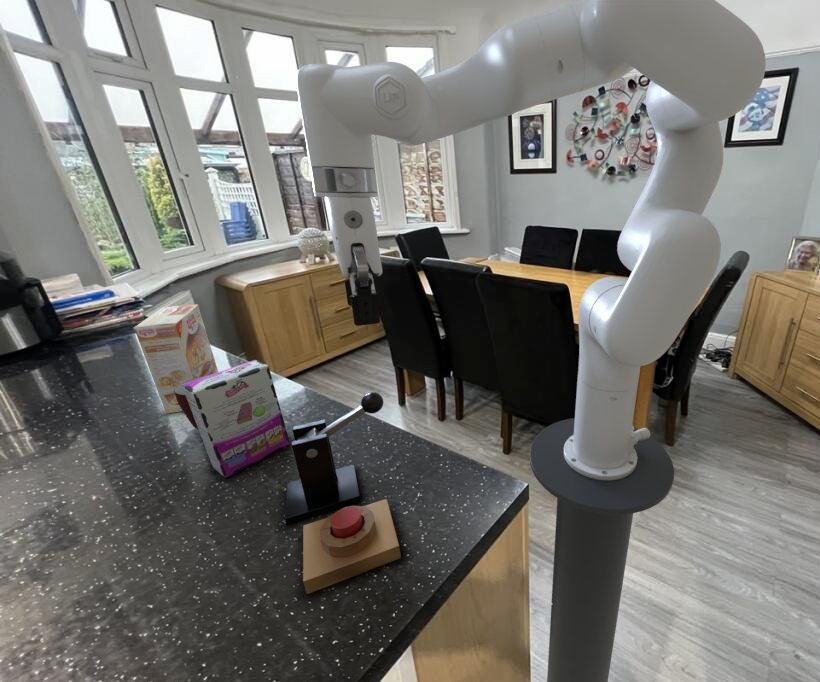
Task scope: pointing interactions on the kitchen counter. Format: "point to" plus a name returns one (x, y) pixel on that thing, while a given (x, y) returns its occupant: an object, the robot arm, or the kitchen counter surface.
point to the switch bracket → (318, 478)
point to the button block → (348, 548)
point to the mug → (185, 401)
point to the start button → (346, 522)
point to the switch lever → (350, 415)
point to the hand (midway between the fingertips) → (363, 313)
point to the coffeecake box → (175, 350)
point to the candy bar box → (237, 416)
